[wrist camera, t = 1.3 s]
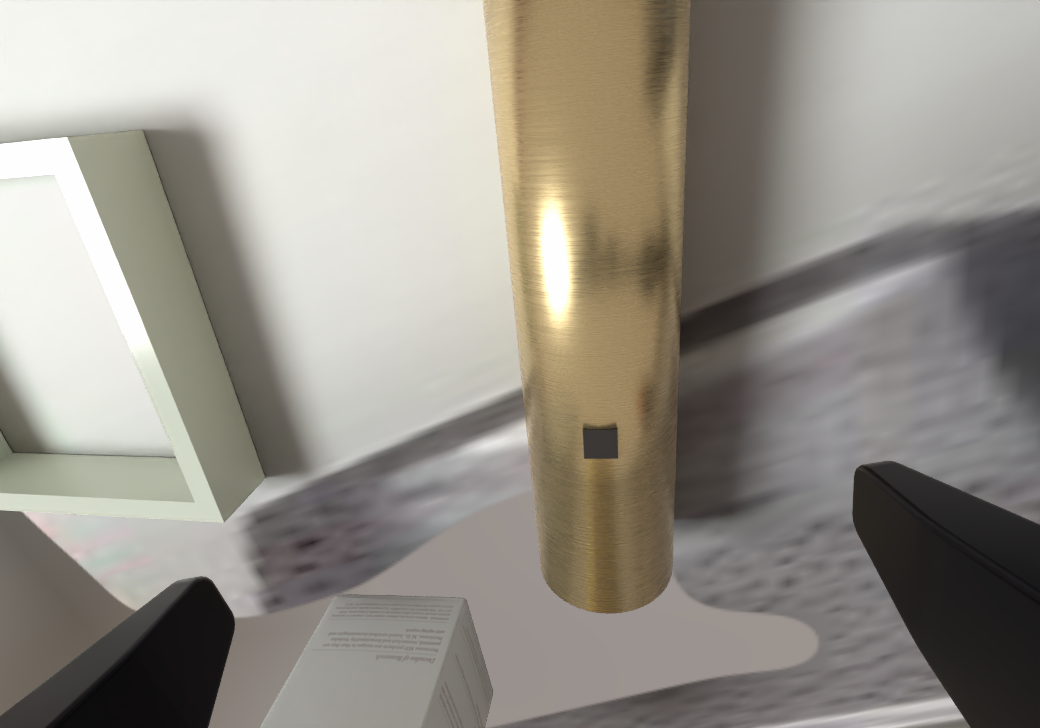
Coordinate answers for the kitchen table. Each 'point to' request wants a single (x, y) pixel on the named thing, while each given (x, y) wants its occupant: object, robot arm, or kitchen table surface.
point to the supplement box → (388, 668)
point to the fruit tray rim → (139, 348)
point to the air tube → (596, 277)
